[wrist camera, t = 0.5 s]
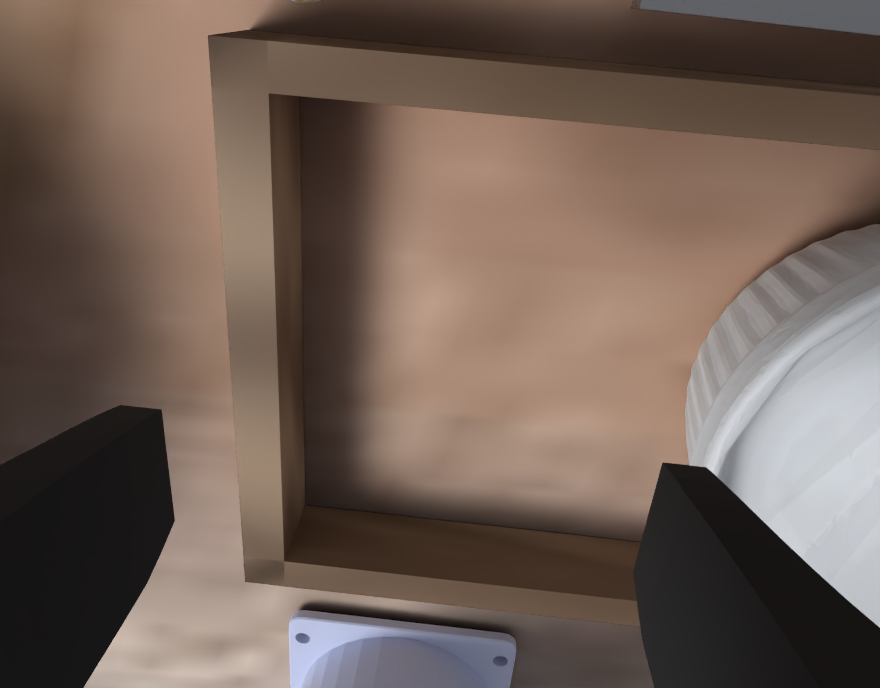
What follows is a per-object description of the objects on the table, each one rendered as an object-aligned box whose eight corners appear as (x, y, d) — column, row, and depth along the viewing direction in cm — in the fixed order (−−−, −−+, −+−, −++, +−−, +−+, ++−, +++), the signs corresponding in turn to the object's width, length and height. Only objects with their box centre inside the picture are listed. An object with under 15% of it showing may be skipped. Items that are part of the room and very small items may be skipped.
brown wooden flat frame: (965, 602, 22) (1017, 669, 20) (269, 524, 23) (245, 581, 21) (1250, 120, 15) (1376, 141, 13) (247, 30, 16) (208, 35, 14)
